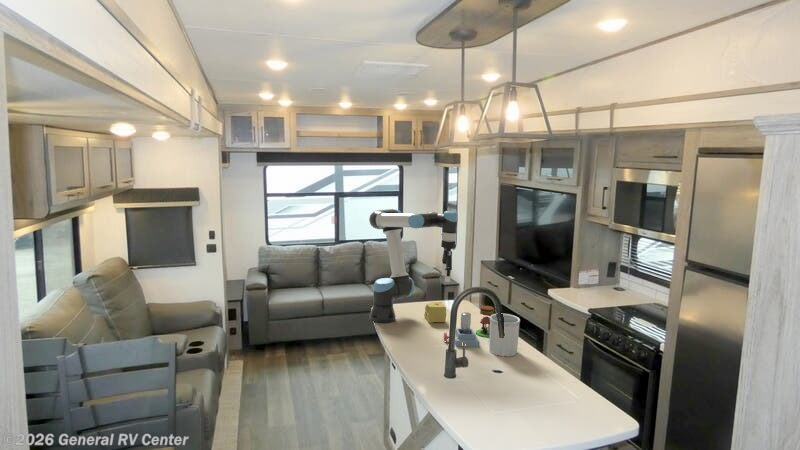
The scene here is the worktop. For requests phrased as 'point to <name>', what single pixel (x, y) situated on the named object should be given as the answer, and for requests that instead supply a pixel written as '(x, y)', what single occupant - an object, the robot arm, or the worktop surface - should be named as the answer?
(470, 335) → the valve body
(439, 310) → the cheese
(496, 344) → the utensil holder
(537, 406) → the worktop surface
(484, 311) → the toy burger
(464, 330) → the pipe stub
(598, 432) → the worktop surface
